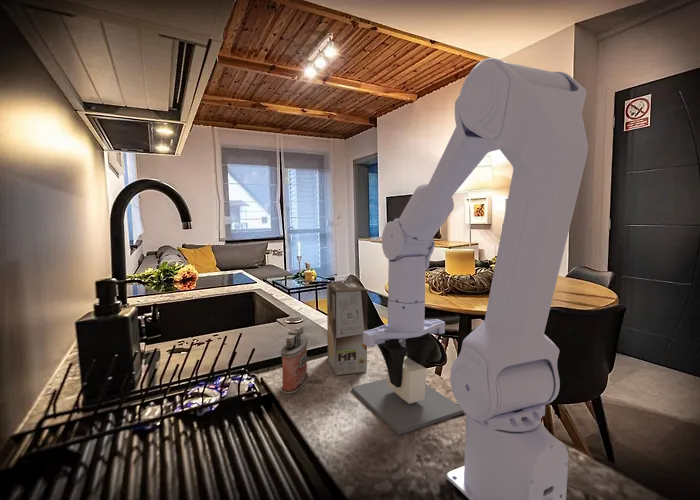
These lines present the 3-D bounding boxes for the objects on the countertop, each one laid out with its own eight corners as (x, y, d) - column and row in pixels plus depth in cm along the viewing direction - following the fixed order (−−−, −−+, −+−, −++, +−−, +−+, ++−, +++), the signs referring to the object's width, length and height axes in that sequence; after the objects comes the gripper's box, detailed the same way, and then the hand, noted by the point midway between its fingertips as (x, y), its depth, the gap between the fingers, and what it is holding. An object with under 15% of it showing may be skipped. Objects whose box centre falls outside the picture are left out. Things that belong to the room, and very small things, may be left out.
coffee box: (368, 372, 68) (369, 289, 66) (335, 376, 66) (335, 291, 65) (355, 354, 77) (355, 281, 75) (326, 357, 75) (325, 282, 73)
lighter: (296, 398, 58) (295, 339, 57) (277, 396, 59) (276, 337, 58) (311, 376, 66) (311, 324, 65) (294, 374, 67) (293, 322, 66)
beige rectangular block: (402, 382, 60) (402, 354, 60) (424, 399, 55) (425, 368, 54) (387, 386, 59) (387, 357, 58) (409, 403, 54) (409, 372, 53)
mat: (464, 413, 54) (464, 409, 54) (398, 435, 48) (399, 431, 48) (408, 376, 66) (408, 373, 66) (351, 390, 61) (351, 387, 61)
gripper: (426, 290, 63) (424, 364, 64) (353, 298, 56) (353, 381, 57) (455, 298, 56) (452, 380, 58) (377, 309, 50) (376, 401, 51)
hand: (404, 382), depth 57 cm, fingers closed on beige rectangular block, 3 cm apart
